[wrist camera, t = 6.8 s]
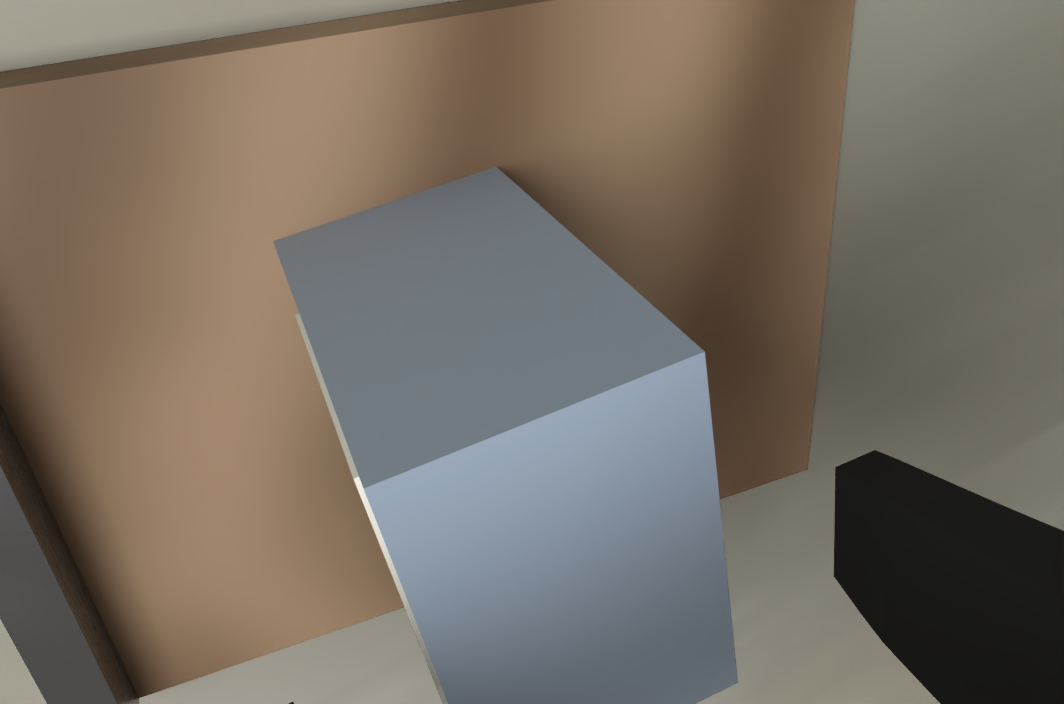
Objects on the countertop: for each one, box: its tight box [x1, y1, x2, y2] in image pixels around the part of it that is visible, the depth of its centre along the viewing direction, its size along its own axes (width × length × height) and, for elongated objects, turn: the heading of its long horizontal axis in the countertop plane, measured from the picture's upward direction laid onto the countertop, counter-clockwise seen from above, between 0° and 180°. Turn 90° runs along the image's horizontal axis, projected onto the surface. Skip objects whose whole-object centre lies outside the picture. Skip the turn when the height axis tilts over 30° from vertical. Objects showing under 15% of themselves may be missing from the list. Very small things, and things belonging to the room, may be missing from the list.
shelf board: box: [0, 0, 855, 698], centre depth 18 cm, size 16×12×1 cm
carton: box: [273, 167, 738, 704], centre depth 14 cm, size 4×6×7 cm
